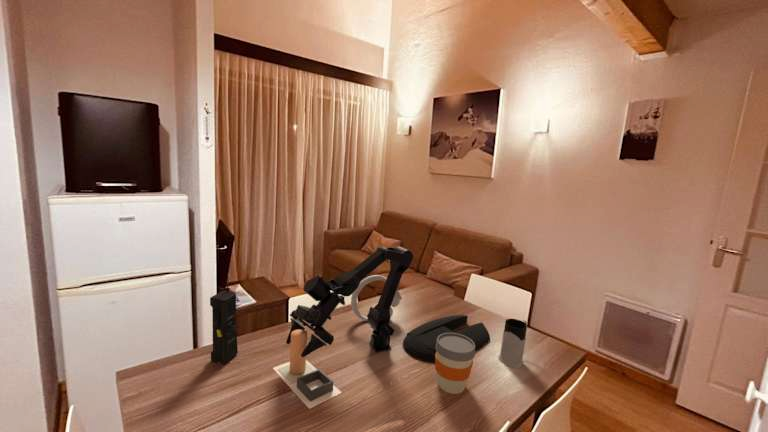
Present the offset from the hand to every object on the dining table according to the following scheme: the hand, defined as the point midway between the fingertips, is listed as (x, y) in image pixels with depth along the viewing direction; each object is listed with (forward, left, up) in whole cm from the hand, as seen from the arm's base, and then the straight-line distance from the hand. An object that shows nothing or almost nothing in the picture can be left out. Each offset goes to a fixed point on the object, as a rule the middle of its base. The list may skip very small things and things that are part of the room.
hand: (294, 349), depth 108 cm
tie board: (-3, +5, -9) cm, 11 cm away
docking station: (-62, -2, -10) cm, 63 cm away
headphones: (-41, -26, -9) cm, 50 cm away
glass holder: (-79, +18, -9) cm, 82 cm away
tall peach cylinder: (-1, 0, -8) cm, 8 cm away
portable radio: (+20, -17, -9) cm, 28 cm away
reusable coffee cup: (-46, +22, -9) cm, 52 cm away
